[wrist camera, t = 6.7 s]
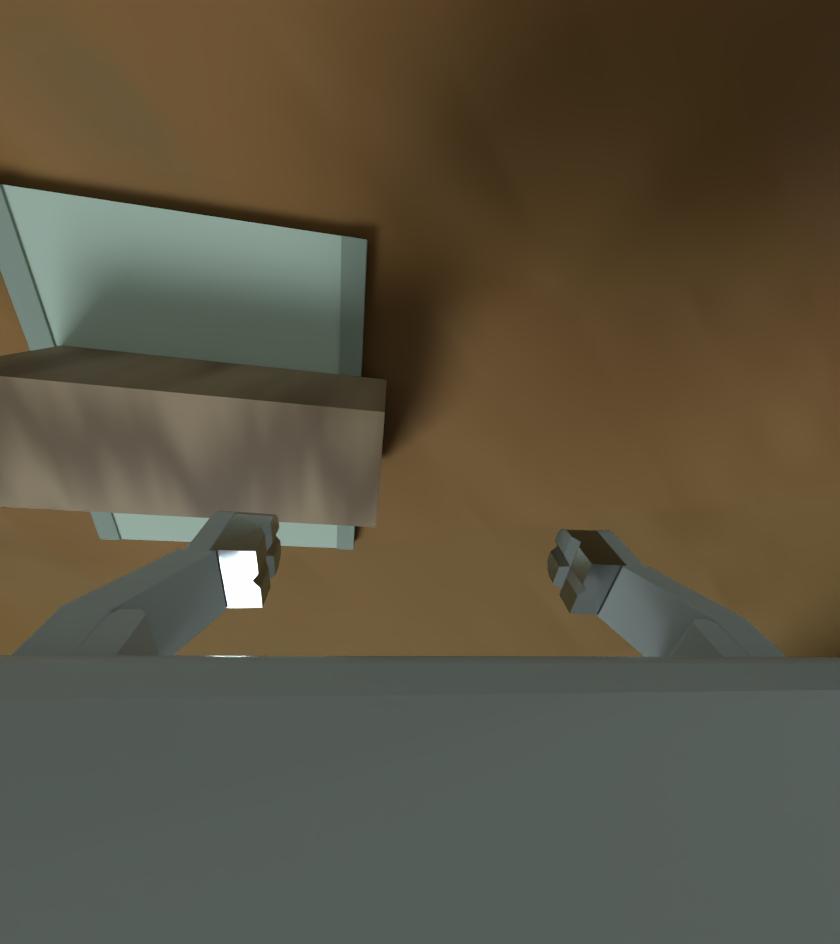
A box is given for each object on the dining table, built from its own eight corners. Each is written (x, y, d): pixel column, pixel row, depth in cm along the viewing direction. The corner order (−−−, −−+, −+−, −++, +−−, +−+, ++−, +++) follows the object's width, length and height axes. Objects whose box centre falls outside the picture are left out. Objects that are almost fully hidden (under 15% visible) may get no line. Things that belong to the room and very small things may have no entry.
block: (375, 527, 15) (-12, 506, 13) (379, 471, 19) (91, 450, 17) (385, 412, 12) (-85, 368, 11) (386, 379, 17) (55, 344, 15)
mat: (354, 542, 22) (353, 549, 21) (109, 531, 20) (100, 539, 20) (367, 241, 15) (366, 239, 14) (-14, 183, 13) (-34, 178, 12)
